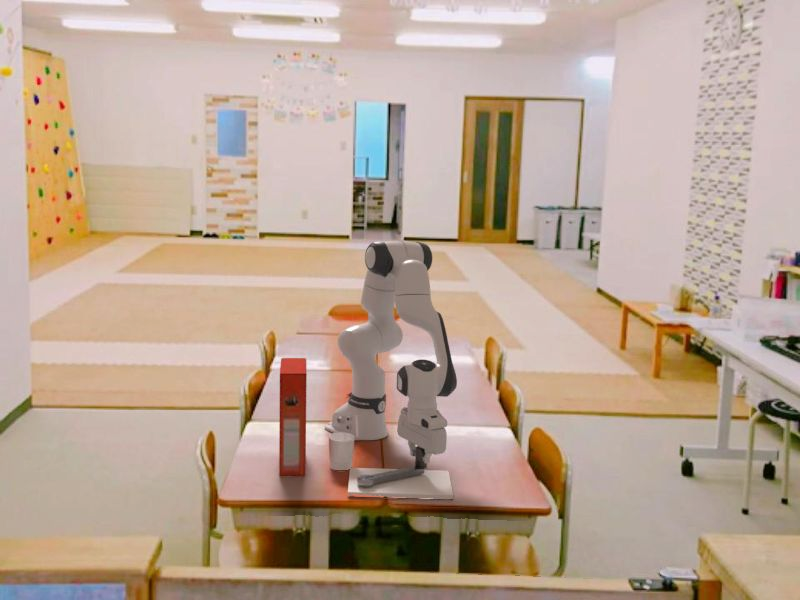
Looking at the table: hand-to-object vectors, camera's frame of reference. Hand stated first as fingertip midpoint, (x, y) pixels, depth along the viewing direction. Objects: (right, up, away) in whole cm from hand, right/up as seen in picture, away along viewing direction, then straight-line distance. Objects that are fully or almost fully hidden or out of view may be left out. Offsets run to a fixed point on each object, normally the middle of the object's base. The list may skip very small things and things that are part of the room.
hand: (419, 458), depth 261 cm
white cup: (-24, -4, +7) cm, 26 cm away
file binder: (-39, -4, +7) cm, 40 cm away
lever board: (-6, -7, -5) cm, 11 cm away
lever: (-8, -5, -5) cm, 11 cm away
